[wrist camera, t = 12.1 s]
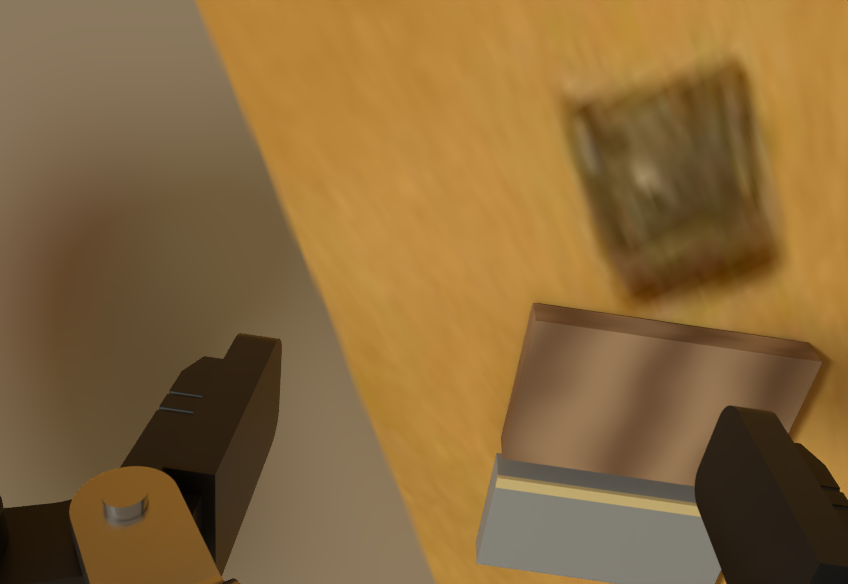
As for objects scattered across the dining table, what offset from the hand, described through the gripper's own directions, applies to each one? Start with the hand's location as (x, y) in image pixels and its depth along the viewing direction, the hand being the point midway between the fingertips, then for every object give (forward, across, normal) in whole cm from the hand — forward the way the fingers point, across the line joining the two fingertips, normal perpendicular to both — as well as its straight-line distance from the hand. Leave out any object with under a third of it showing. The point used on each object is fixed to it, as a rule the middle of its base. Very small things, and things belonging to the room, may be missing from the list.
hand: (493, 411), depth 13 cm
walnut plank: (+26, -13, +16) cm, 33 cm away
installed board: (+26, -13, +26) cm, 39 cm away
